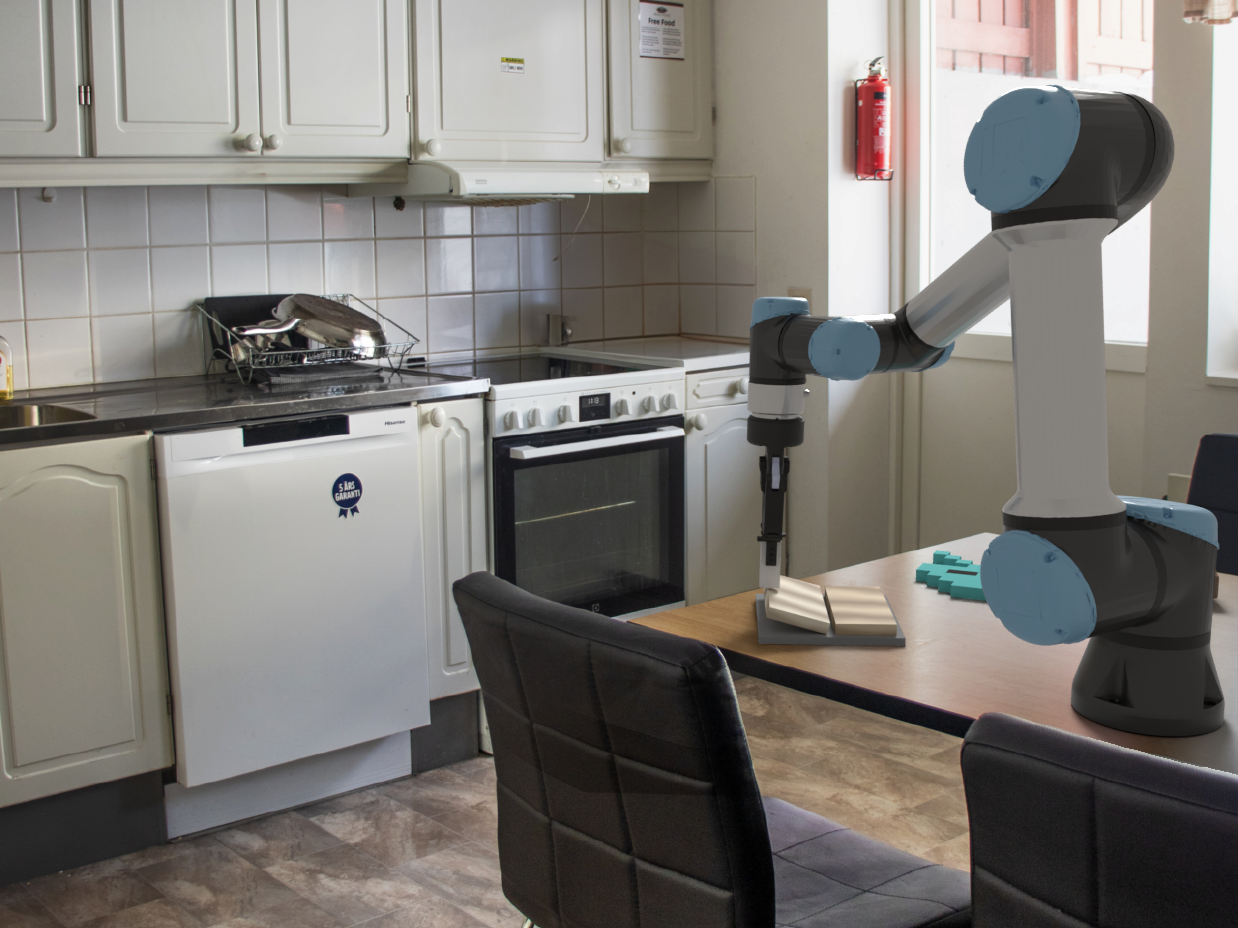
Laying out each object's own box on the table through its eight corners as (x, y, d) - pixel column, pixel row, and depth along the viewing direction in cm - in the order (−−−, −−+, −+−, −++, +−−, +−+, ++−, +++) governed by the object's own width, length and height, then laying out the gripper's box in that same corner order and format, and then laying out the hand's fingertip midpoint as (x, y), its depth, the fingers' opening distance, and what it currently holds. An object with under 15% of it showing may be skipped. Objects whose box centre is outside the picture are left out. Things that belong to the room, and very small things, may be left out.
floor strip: (896, 635, 153) (896, 624, 153) (835, 634, 154) (835, 623, 153) (879, 596, 170) (879, 586, 170) (824, 596, 171) (824, 585, 171)
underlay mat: (905, 645, 152) (905, 638, 152) (758, 643, 154) (758, 636, 153) (885, 601, 172) (885, 594, 171) (755, 600, 173) (755, 593, 173)
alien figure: (936, 563, 194) (904, 594, 177) (936, 550, 194) (904, 580, 176) (1066, 576, 185) (1046, 610, 168) (1067, 563, 185) (1047, 595, 167)
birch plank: (826, 634, 154) (830, 623, 153) (766, 617, 154) (769, 606, 154) (816, 595, 171) (819, 585, 171) (762, 580, 172) (765, 571, 171)
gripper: (808, 422, 152) (800, 601, 156) (801, 408, 164) (794, 574, 169) (748, 420, 152) (742, 599, 157) (746, 407, 165) (741, 572, 169)
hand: (769, 586), depth 163 cm, fingers closed
